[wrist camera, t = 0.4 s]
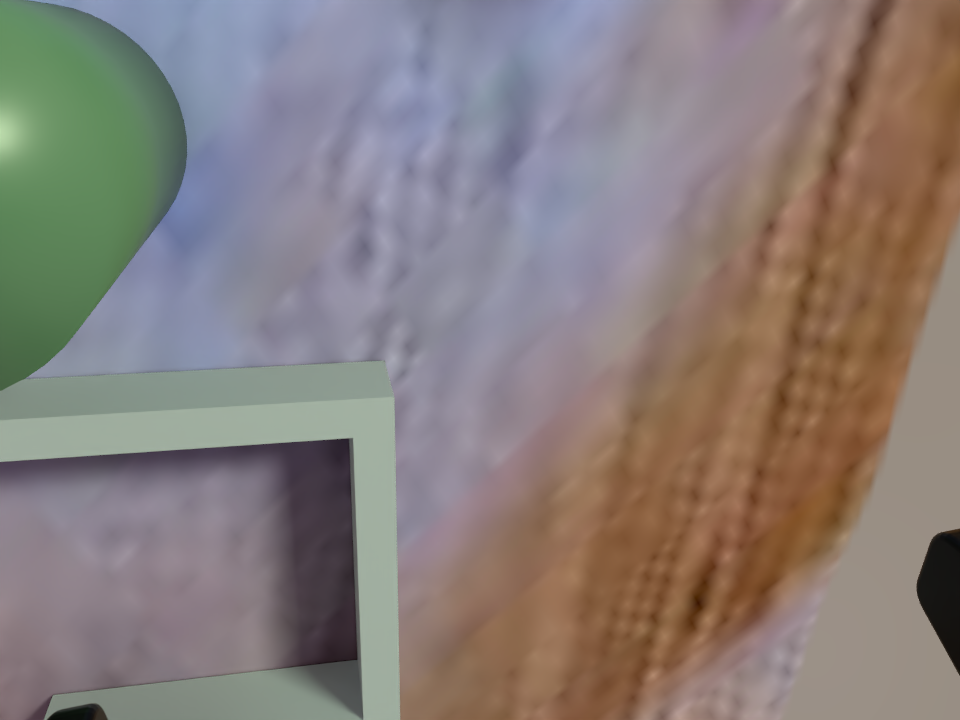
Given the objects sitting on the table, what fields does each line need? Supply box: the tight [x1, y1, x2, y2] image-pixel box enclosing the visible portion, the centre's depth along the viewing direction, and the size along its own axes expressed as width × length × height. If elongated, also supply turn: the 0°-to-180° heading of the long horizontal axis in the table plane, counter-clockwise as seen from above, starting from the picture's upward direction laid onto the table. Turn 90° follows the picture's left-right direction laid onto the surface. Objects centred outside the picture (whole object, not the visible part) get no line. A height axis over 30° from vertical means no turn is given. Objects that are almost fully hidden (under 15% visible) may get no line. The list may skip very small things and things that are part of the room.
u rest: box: [0, 361, 400, 720], centre depth 22 cm, size 10×10×2 cm
